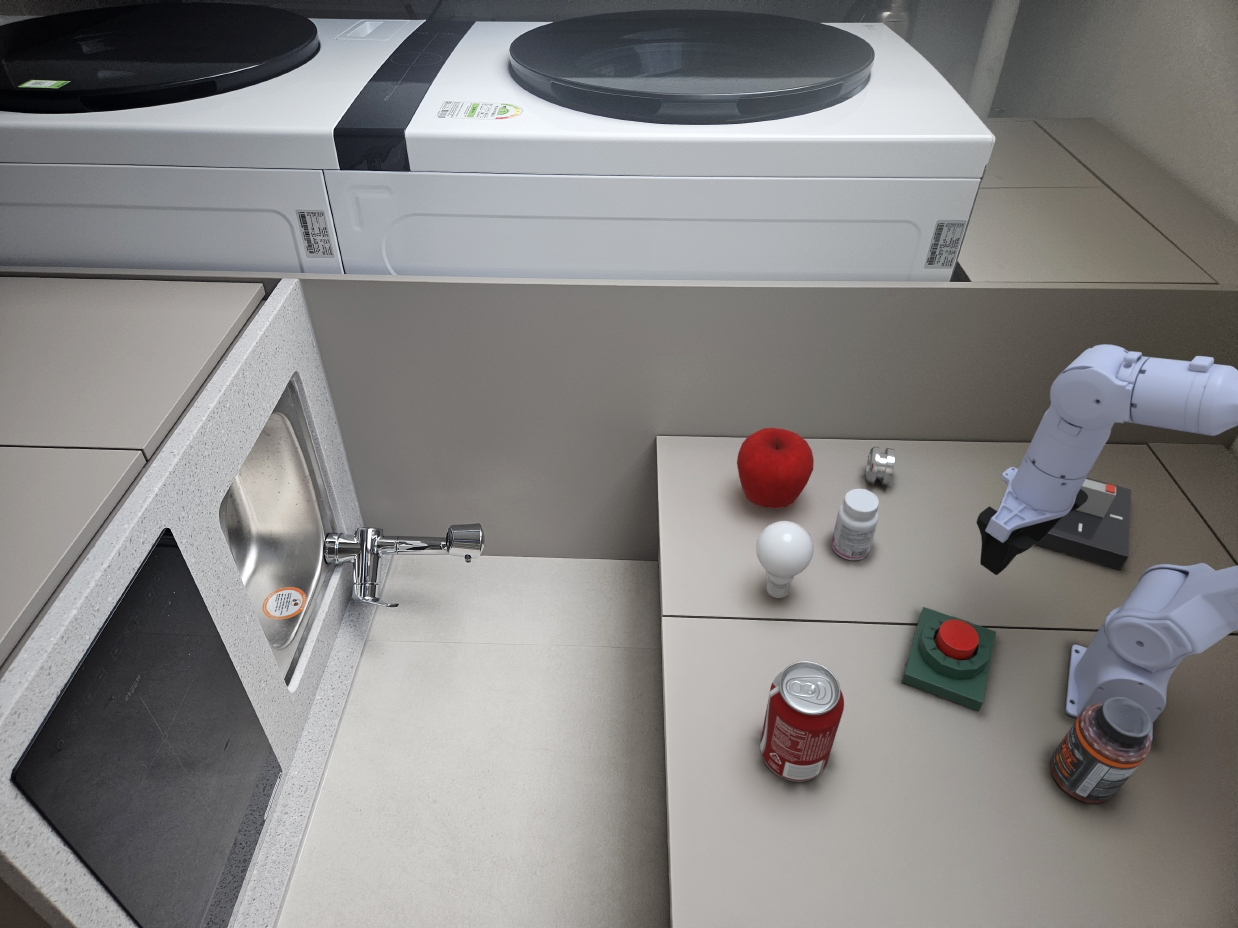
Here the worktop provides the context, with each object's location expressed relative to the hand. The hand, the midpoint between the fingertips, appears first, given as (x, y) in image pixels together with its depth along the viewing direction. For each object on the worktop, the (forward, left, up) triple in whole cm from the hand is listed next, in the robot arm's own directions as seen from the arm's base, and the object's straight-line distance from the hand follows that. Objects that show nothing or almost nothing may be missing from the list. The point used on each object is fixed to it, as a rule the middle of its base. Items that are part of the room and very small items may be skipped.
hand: (1010, 551), depth 87 cm
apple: (+7, +29, -11) cm, 31 cm away
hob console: (+20, -8, -10) cm, 24 cm away
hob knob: (+20, -8, -8) cm, 23 cm away
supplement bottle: (-17, -11, -11) cm, 23 cm away
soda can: (-27, +15, -11) cm, 32 cm away
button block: (-9, +3, -10) cm, 14 cm away
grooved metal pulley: (+17, +17, -11) cm, 26 cm away
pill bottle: (+3, +17, -11) cm, 20 cm away
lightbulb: (-8, +23, -11) cm, 26 cm away
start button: (-9, +3, -7) cm, 12 cm away
